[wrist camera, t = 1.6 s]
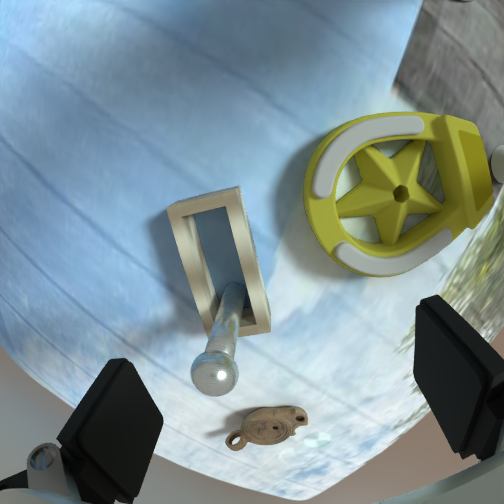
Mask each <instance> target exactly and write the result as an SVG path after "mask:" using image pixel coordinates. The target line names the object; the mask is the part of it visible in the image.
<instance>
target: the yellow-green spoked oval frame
mask: <svg viewBox="0 0 504 504" xmlns="http://www.w3.org/2000/svg"><path fill="white" fill-rule="evenodd" d="M400 139H405V140H412V141H411V142H410V143H408V144H407V145H406V146H405V147H404V148H402V149H401V150H400V151H399V152H397V153H396V154H395V155H394V156H393V157H391V158H387V157H386V156H385V155H383V154H382V153H381V152H380V151H378V150H377V149H376V148H374V147H373V146H372V145H371V144H375V143H380V142H385V141H391V140H400ZM426 141H428V142H430V144H431V147H432V151H433V154H434V157H435V161H436V164H437V168H438V172H439V176H440V179H441V183H442V188H443V192H444V196H445V201H444V202H443V203H442V204H441V203H440V202H439V201H438V200H436V199H435V198H434V197H433V196H432V195H431V194H430V193H429V192H428V191H427V190H425V189H424V188H423V187H422V186H421V185H420V184H419V183H418V182H417V177H418V173H419V169H420V165H421V161H422V157H423V152H424V148H425V144H426ZM353 155H354V158H355V161H356V163H357V166H358V169H359V172H360V175H361V178H362V180H361V182H360V183H359V184H358V185H357V186H356V187H354V188H353V189H352V190H351V191H350V192H348V193H347V194H346V195H345V196H343V197H342V198H341V199H340V200H338V201H337V202H336V203H335V193H336V186H337V182H338V178H339V176H340V173H341V171H342V169H343V167H344V166H345V164H346V163H347V162H348V160H349V159H350V158H351V157H352V156H353ZM303 199H304V207H305V211H306V215H307V218H308V221H309V223H310V225H311V228H312V230H313V232H314V234H315V236H316V238H317V239H318V241H319V243H320V244H321V246H322V247H323V249H324V250H325V251H326V252H327V253H328V255H329V256H330V257H331V258H332V259H334V260H335V261H336V262H337V263H339V264H340V265H341V266H343V267H345V268H346V269H348V270H350V271H352V272H355V273H357V274H361V275H364V276H370V277H390V276H395V275H399V274H402V273H405V272H407V271H410V270H412V269H413V268H415V267H417V266H419V265H420V264H422V263H424V262H425V261H427V260H428V259H430V258H431V257H433V256H434V255H436V254H437V253H439V252H440V251H441V250H442V249H444V248H445V247H446V246H447V245H449V244H450V243H451V242H452V241H453V240H454V239H455V238H457V237H458V236H459V235H460V234H461V233H462V232H463V231H464V230H465V229H466V228H467V227H468V228H470V229H474V228H475V227H476V226H477V225H478V224H479V222H480V221H481V220H482V219H483V217H484V216H485V215H486V214H487V212H488V211H489V210H490V208H491V207H492V205H493V187H492V182H491V176H490V171H489V167H488V162H487V158H486V154H485V149H484V145H483V142H482V138H481V136H480V135H479V131H478V129H477V127H476V126H475V124H473V123H472V122H469V121H466V120H463V119H460V118H456V117H453V116H450V115H442V116H441V115H436V114H430V113H422V112H388V113H379V114H373V115H368V116H363V117H360V118H357V119H354V120H352V121H349V122H346V123H344V124H342V125H340V126H339V127H337V128H336V129H334V130H333V131H332V132H330V133H329V134H328V135H327V136H326V137H325V138H324V139H323V140H322V141H321V142H320V144H319V145H318V146H317V148H316V149H315V151H314V153H313V154H312V156H311V158H310V161H309V163H308V166H307V169H306V173H305V177H304V185H303ZM426 213H432V214H430V215H429V216H428V217H427V218H426V219H424V220H423V221H422V222H420V223H419V224H418V225H416V226H415V227H413V228H412V229H410V230H409V231H407V232H405V233H404V234H402V235H400V234H401V231H402V228H403V224H404V221H405V218H406V216H407V215H408V214H426ZM369 215H372V216H374V218H375V221H376V225H377V228H378V232H379V235H380V239H381V242H382V243H368V242H364V241H361V240H358V239H356V238H354V237H352V236H351V235H350V234H348V233H347V232H346V231H345V230H344V228H343V226H342V224H341V222H340V220H339V217H347V216H369Z"/></svg>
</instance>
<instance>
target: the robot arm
mask: <svg viewBox="0 0 504 504" xmlns="http://www.w3.org/2000/svg"><path fill="white" fill-rule="evenodd" d="M462 1H473V0H462ZM413 374H414V378H415V381H416V383H417V384H418V386H419V388H420V390H421V391H422V393H423V395H424V397H425V399H426V400H427V402H428V404H429V406H430V408H431V410H432V412H433V413H434V415H435V417H436V419H437V421H438V423H439V425H440V427H441V429H442V431H443V432H444V434H445V437H446V439H447V440H448V443H449V444H450V446H451V449H452V450H453V452H454V453H458V452H459V454H460V456H461V458H462V459H465V458H467V457H469V456H470V455H473V454H475V455H476V457H477V459H479V462H478V464H476V465H474V466H472V467H469V468H467V469H466V470H463V471H461V472H459V473H457V474H455V475H452V476H450V477H448V478H445V479H443V480H440V481H438V482H436V483H433V484H431V485H428V486H425V487H422V488H420V489H417V490H414V491H411V492H409V493H406V494H403V495H400V496H397V497H393V498H390V499H387V500H384V501H380V502H377V503H373V504H504V359H503V358H501V356H500V355H499V354H498V353H497V352H496V351H495V350H494V349H493V348H492V347H491V346H490V345H489V343H488V342H487V341H486V340H485V339H484V338H483V337H482V336H481V335H480V334H479V333H478V332H477V331H476V330H475V329H474V328H473V327H472V326H471V325H470V324H469V323H468V322H467V321H466V320H465V319H464V318H463V317H461V316H460V315H459V314H458V313H457V312H456V311H455V310H454V309H453V308H452V307H451V306H450V305H449V304H448V303H447V302H446V301H445V300H443V299H442V298H441V297H440V296H439V295H434V296H431V297H428V298H425V299H422V300H421V301H420V305H417V306H416V317H415V351H414V367H413ZM162 426H163V416H162V414H161V412H160V411H159V409H158V407H157V406H156V404H155V402H154V401H153V399H152V397H151V396H150V394H149V392H148V390H147V389H146V387H145V385H144V383H143V382H142V380H141V378H140V376H139V374H138V372H137V371H136V369H135V367H134V365H133V364H132V363H131V362H129V361H128V360H127V359H126V358H118V359H110V360H109V361H108V362H107V364H106V365H105V367H104V368H103V369H102V371H101V372H100V374H99V375H98V377H97V378H96V379H95V381H94V382H93V384H92V385H91V387H90V388H89V390H88V391H87V393H86V394H85V396H84V397H83V399H82V400H81V401H80V403H79V404H78V406H77V407H76V409H75V411H74V412H73V414H72V415H71V417H70V418H69V420H68V421H67V423H66V424H65V426H64V427H63V429H62V430H61V432H60V434H59V435H58V437H57V438H56V439H57V440H58V441H59V442H60V444H61V445H62V447H61V448H59V447H58V446H57V445H56V444H53V443H44V444H41V445H39V446H37V447H36V448H35V449H33V451H32V452H31V453H30V454H29V456H28V459H27V469H26V470H24V471H22V472H20V473H17V474H15V475H13V476H10V477H8V478H6V479H3V480H1V481H0V504H114V502H115V499H116V500H117V501H118V502H121V503H126V504H132V503H133V500H134V498H135V497H137V496H138V494H139V491H140V489H141V486H142V483H143V480H144V477H145V474H146V472H147V469H148V466H149V463H150V460H151V457H152V454H153V452H154V449H155V446H156V443H157V440H158V438H159V435H160V432H161V429H162Z"/></svg>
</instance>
